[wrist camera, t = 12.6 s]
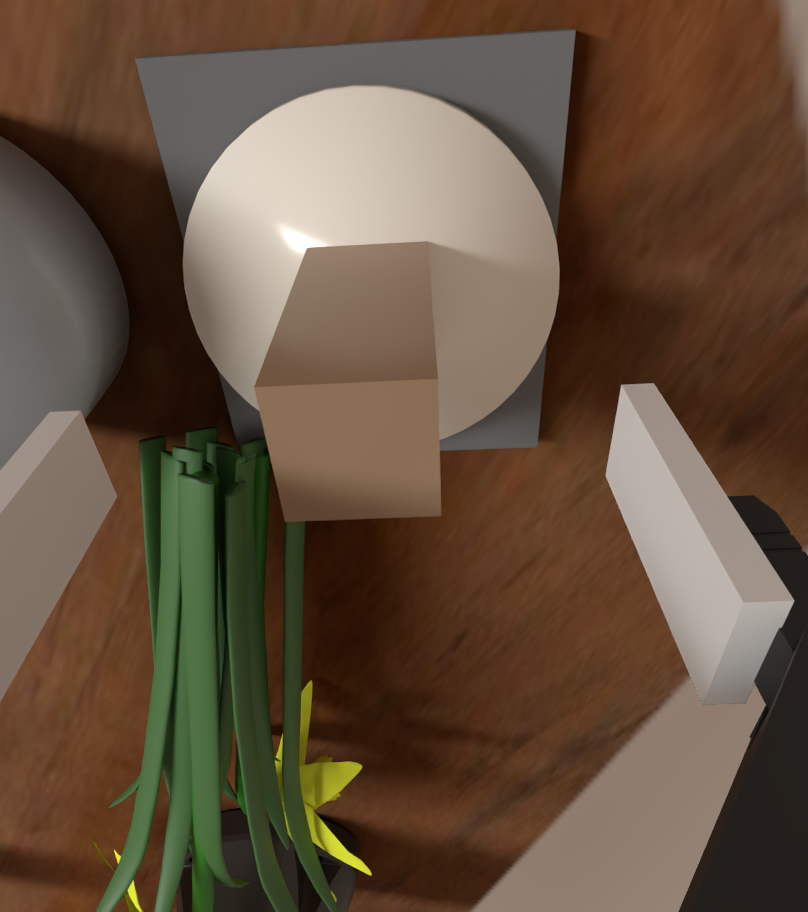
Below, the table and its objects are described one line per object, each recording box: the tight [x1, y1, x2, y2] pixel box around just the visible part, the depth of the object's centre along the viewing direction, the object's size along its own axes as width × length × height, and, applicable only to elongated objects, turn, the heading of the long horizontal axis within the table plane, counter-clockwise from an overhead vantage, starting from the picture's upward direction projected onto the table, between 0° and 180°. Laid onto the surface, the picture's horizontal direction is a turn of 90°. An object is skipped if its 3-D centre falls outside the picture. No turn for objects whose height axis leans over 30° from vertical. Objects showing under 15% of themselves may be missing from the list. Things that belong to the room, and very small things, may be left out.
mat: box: [135, 29, 576, 456], centre depth 23 cm, size 15×13×1 cm
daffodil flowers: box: [93, 427, 372, 912], centre depth 31 cm, size 17×15×35 cm
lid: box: [183, 83, 560, 522], centre depth 19 cm, size 13×13×10 cm
